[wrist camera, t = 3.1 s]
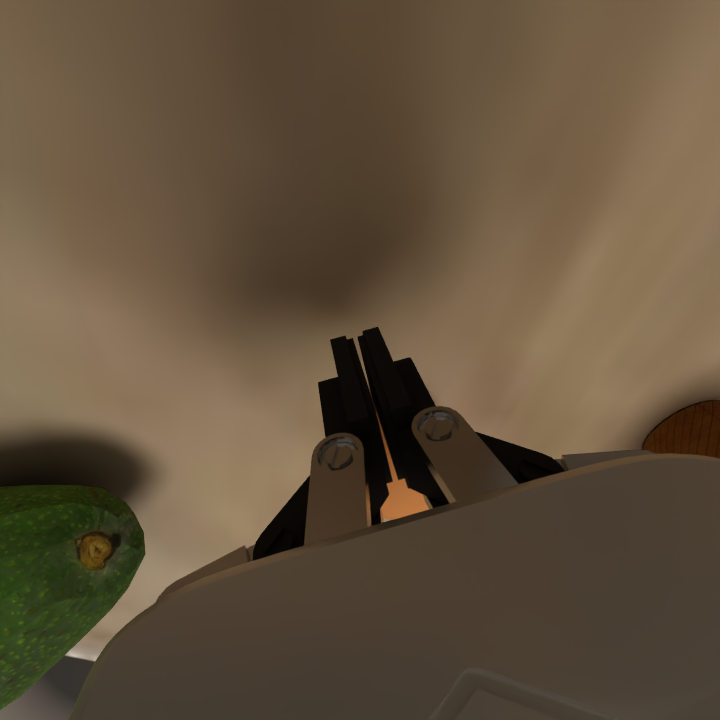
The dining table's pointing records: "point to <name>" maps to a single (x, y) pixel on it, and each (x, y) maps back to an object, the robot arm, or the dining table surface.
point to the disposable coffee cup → (689, 432)
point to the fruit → (58, 573)
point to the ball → (400, 494)
